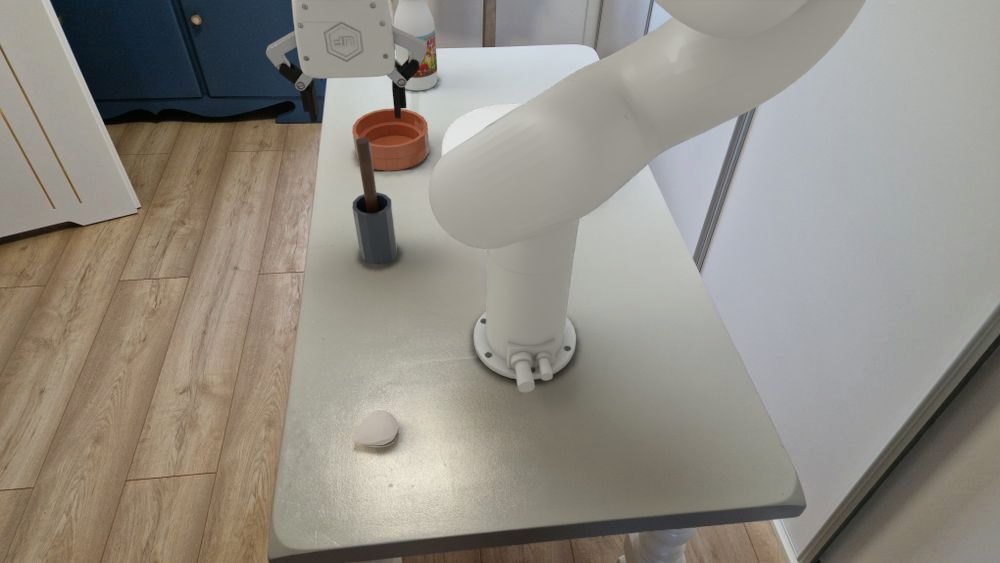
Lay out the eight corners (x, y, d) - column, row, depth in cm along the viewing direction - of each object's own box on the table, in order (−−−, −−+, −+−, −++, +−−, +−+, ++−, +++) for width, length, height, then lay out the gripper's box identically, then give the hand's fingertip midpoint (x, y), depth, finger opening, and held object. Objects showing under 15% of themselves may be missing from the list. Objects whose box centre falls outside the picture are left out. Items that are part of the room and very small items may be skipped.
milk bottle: (395, 91, 127) (384, -16, 113) (401, 72, 133) (391, -32, 119) (435, 92, 127) (429, -15, 113) (439, 73, 132) (434, -31, 119)
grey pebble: (405, 442, 71) (403, 429, 69) (361, 463, 69) (358, 450, 67) (389, 413, 73) (387, 400, 72) (347, 432, 71) (343, 419, 70)
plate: (603, 99, 116) (630, 189, 97) (595, 131, 120) (619, 224, 101) (444, 84, 113) (440, 174, 94) (442, 118, 117) (437, 210, 98)
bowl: (430, 171, 108) (429, 145, 104) (355, 175, 106) (350, 149, 103) (427, 132, 116) (426, 106, 113) (357, 135, 115) (354, 110, 112)
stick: (384, 255, 92) (369, 143, 79) (373, 256, 92) (355, 144, 79) (384, 248, 93) (369, 136, 80) (373, 248, 93) (356, 137, 80)
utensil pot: (397, 265, 91) (391, 214, 85) (360, 268, 90) (351, 216, 84) (397, 242, 95) (391, 191, 88) (362, 244, 94) (353, 193, 88)
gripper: (239, -24, 62) (277, 134, 74) (423, -27, 64) (431, 128, 76) (251, -50, 67) (285, 101, 79) (421, -53, 69) (429, 96, 81)
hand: (357, 114), depth 77 cm, fingers open, 9 cm apart
